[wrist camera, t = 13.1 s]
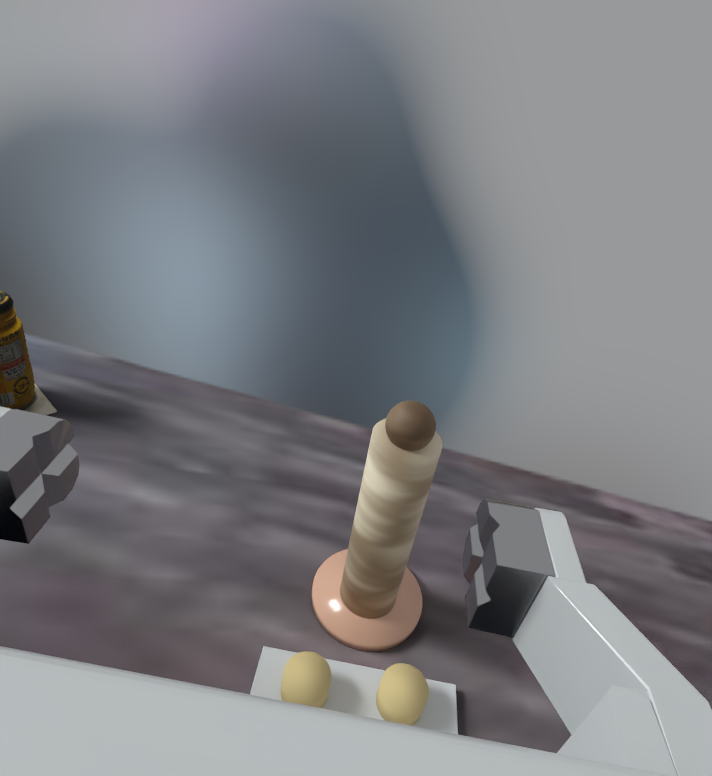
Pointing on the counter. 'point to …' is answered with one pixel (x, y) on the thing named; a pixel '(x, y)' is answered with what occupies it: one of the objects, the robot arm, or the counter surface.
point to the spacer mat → (357, 689)
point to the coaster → (357, 628)
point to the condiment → (17, 365)
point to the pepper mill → (389, 508)
